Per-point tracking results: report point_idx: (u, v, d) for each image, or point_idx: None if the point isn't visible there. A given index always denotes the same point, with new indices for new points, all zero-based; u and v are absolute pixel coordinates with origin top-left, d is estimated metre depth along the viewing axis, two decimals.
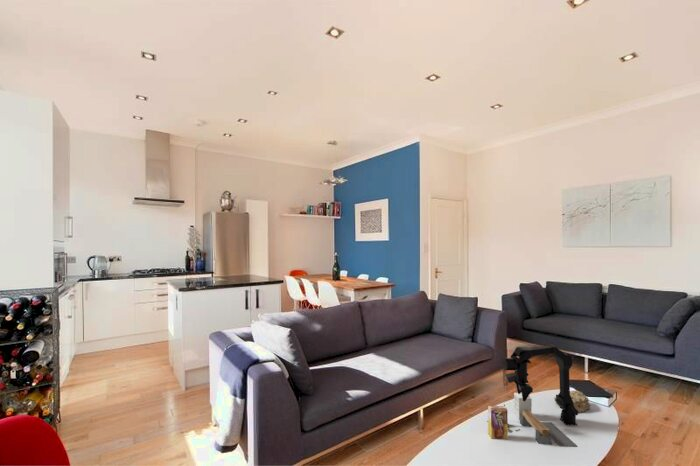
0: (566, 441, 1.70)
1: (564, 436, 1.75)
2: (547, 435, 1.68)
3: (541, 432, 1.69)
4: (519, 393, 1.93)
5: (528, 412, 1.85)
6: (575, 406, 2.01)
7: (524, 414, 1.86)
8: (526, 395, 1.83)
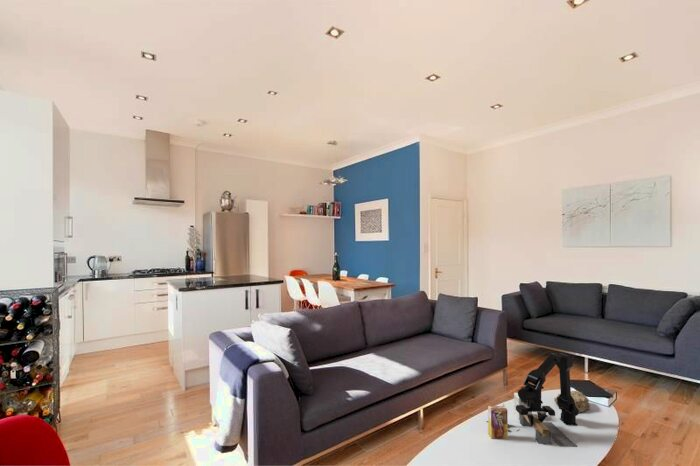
0: (566, 441, 1.70)
1: (564, 436, 1.75)
2: (547, 435, 1.68)
3: (541, 432, 1.69)
4: None
5: None
6: None
7: None
8: (530, 419, 1.77)
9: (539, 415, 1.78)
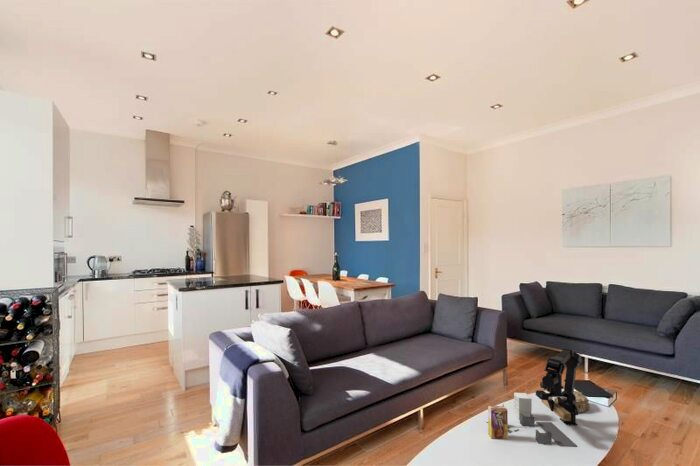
0: (566, 441, 1.70)
1: (564, 436, 1.75)
2: (569, 419, 1.68)
3: (562, 416, 1.69)
4: None
5: None
6: None
7: (544, 400, 1.86)
8: (550, 404, 1.77)
9: (559, 400, 1.78)
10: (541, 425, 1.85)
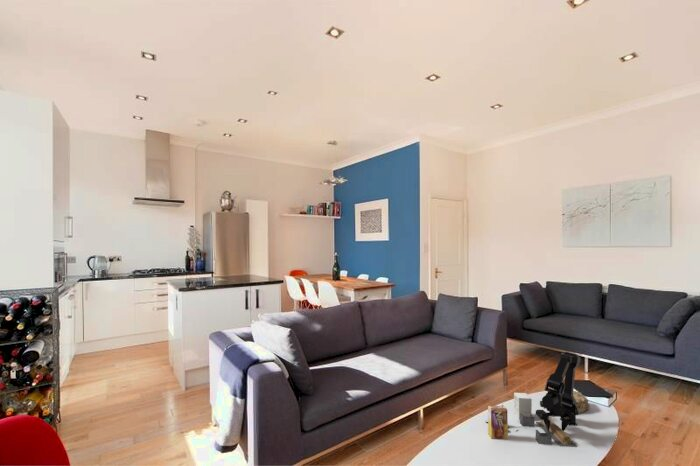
0: None
1: None
2: (569, 443, 1.68)
3: (562, 440, 1.69)
4: None
5: None
6: None
7: (543, 421, 1.86)
8: (546, 424, 1.77)
9: (563, 420, 1.78)
10: (541, 425, 1.85)
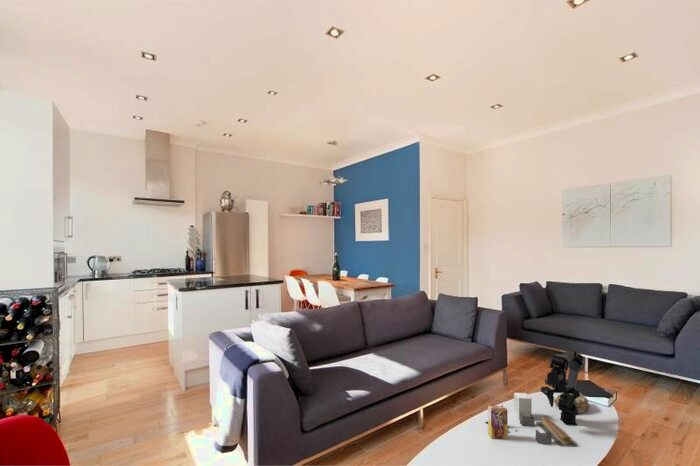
0: None
1: None
2: (569, 443, 1.68)
3: (562, 440, 1.69)
4: (568, 407, 1.82)
5: (548, 419, 1.85)
6: None
7: (543, 421, 1.86)
8: (550, 400, 1.81)
9: (569, 396, 1.82)
10: (541, 425, 1.85)
